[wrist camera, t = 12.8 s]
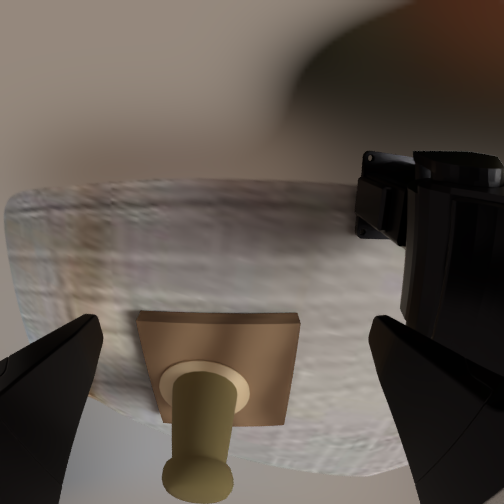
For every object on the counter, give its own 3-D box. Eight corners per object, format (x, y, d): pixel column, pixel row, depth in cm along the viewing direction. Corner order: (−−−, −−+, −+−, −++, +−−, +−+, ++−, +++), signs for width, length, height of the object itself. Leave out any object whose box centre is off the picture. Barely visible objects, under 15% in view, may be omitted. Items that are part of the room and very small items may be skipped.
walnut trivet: (297, 312, 24) (301, 325, 22) (282, 414, 29) (284, 427, 28) (140, 310, 23) (134, 322, 22) (165, 412, 29) (162, 424, 27)
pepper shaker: (235, 413, 26) (236, 512, 16) (174, 408, 26) (159, 504, 16) (240, 373, 24) (243, 488, 14) (170, 367, 24) (146, 478, 14)
